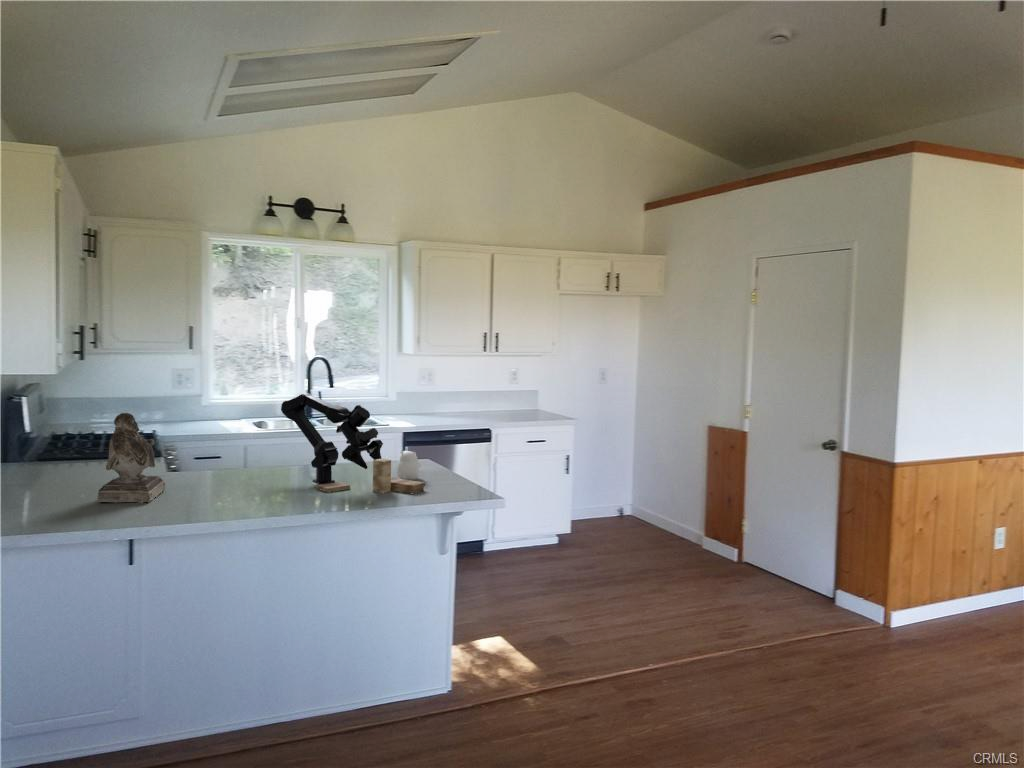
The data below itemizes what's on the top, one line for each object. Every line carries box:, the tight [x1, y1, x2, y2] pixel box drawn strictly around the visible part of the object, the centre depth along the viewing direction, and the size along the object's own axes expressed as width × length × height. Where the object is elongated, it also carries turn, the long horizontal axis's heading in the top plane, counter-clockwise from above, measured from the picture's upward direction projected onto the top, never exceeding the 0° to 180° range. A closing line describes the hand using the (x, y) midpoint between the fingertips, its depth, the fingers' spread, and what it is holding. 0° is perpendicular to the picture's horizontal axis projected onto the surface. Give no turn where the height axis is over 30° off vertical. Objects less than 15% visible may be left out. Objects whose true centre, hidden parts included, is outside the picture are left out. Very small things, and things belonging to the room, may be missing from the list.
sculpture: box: [97, 412, 166, 503], centre depth 262 cm, size 19×17×30 cm
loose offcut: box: [316, 481, 351, 493], centre depth 285 cm, size 7×10×2 cm
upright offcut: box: [372, 458, 392, 494], centre depth 283 cm, size 5×4×12 cm
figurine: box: [396, 450, 422, 481], centre depth 305 cm, size 10×10×12 cm
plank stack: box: [391, 476, 426, 494], centre depth 287 cm, size 17×7×3 cm, turn 62°
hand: (374, 466), depth 285 cm, fingers open, 9 cm apart
